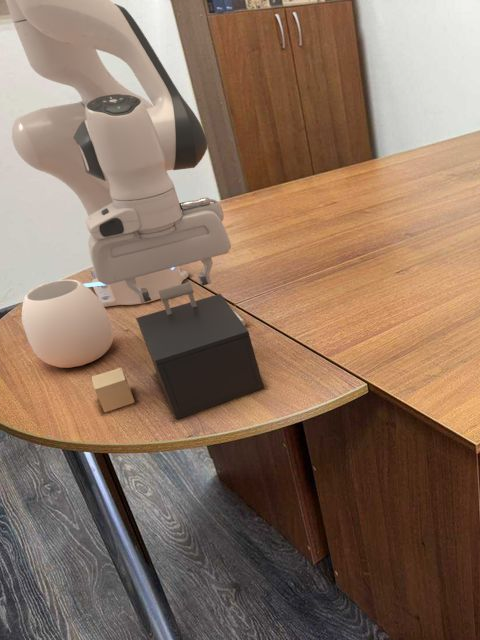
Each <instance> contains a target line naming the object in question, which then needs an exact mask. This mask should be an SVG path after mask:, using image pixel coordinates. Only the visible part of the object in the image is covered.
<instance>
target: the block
mask: <svg viewBox="0 0 480 640" xmlns="http://www.w3.org/2000/svg"><path fill="white" fill-rule="evenodd" d="M91 381H92V385H93V389H94V391H95V394H96V397H97V398H98V399H97V400H98V401H99V403H100V405H101V408H102V410H103V412H104V413H109V412H112V411H114V410H118V409H120V408H123V407H126V406H130V405H132V404H135V402H136V401H135V398H134V396H133V393H132V390H131V388H130V385H129V382H128V380H127V377H126V375H125V373H124V370H123V368H122V367H118V368H115V369H112V370H109V371H108V370H107V371H105V372H101V373H99V374H96V375H92V376H91Z"/></svg>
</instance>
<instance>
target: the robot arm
mask: <svg viewBox="0 0 480 640" xmlns="http://www.w3.org/2000/svg"><path fill="white" fill-rule="evenodd" d="M5 3H6V6H7V9H8V13H9V15H10V18H11V20H12V23H13V26H14V29H15V31H16V33H17V36H18V38H19V40H20V44H21V46H22V49H23V51H24V53H25V56H26V58H27V60H28V63H29V66H30V67H31V68H32V70H33V71H34V72H35V73H36V74H38V75H39V76H41V77H42V78H44V79H46V80H49V81H51V82H55V83H57V84H61V85H65V86H68V87H72V88H73V89H74V90H75V91H77V93H78V94H79V97H80V98H81V101H79V102H73V103H67V104H62V105H61V104H60V105H55V106H50V107H49V106H48V107H44V108H39V109H36V110H34V111H31V112H28V113H26V114H24V115H21V116H19V117H16V119H15V120H14V122H13V124H12V130H11V140H12V144H13V147H14V149H15V151H16V153H17V154H18V156H19V157H20V158H21V160H23V161H24V162H25V163H26V164H27V165H28V166H30V167H32V168H34V169H35V170H38V171H40V172H43V173H45V174H48V175H50V176H52V177H54V178H56V179H58V180H59V181H61V182H62V183H64V184H65V185H66V186H67V187H68V188H70V190H72V191H73V192H74V194H75V195H76V196H77V198H78V199H79V201H80V202H81V204H82V206H83V208H84V210H85V211H86V214H87V217H86V219H85V224H86V228H87V231H88V232H89V235H90V236H89V238H88V244H87V245H88V251H89V256H90V260H91V264H92V267H91V268H89V272H90V274H91V277H92V278H93V279H92V280H91V281H90V282H89V283H88V282H87V283H83V284H84V285H85V286H86V287H88V288H91V287H92V289H93V292H94V294H95V295H96V296H97V297H98V298H99V299H100V301H101V302H102V304H103V306H104V308H106V307H114V306H133V305H134V306H135V305H141V304H147V303H150V302H155V301H157V300H161V298H160V295H159V293H158V291H159V290H163V289H167V288H170V287H174V286H177V285H181V284H183V282H184V281H185V280H186V279H187V278H189V274H188V271H186V270H184V269H180V266H184V265H188V264H191V263H196V262H201V263H202V264H203V266H202V271H201V272H198V273H197V274H196V275H197V278H198V281H199V283H200V285H201V286H202V287H204V286H208V285H211V284H212V281H211V278H210V274H211V270H212V267H213V260H212V258H215V257H218V256H222V255H226V254H228V253H230V250H231V248H232V243H231V241H230V237H229V235H228V233H227V230H226V228H225V226H224V224H223V221H224V215H225V214H224V211H223V208H222V205H221V203H220V202H219V201H217V200H216V199H213V198H212V199H211V198H209V197H202V198H200V199H196V200H188V201H183V202H180V201H179V197H178V195H177V190H176V188H175V184H174V182H173V180H172V179H171V177H170V176H169V174H168V171H179V170H187V169H194V168H196V167H197V165H198V164H199V163H200V162H201V161H202V160H203V157H204V156H205V154H206V152H207V150H208V140H207V137H206V133H205V130H204V128H203V125H202V124H201V121H200V120H199V118H198V117H197V116H196V114H195V112H194V111H193V110H192V108H191V107H190V105H189V104H188V103H187V101H186V100H185V99H184V97H183V96H182V95H181V93H180V92H179V89H178V88H177V87H176V85H175V83H174V81H173V80H172V78H171V76H170V75H169V74H168V72H167V70H166V68H165V66H164V65H163V63H162V61H161V60H160V58H159V57H158V55H157V54H156V52H155V50H154V48H153V47H152V45H151V44H150V42H149V40H148V38H147V37H146V36H145V35H146V34H144V33H143V31H142V28H140V26H139V24H138V23H137V21H136V19H134V17H133V16H132V15H131V13H130V12H129V11H128V10H127V9H126V8H125V7H124V6H122V5H120V4H117V3H115V2H112V1H111V0H5ZM98 51H100V52H103V53H107V54H109V55H113V56H114V57H117V58H118V59H120V60H121V61H123V62H124V63H126V65H127V66H128V67H129V68H130V70H131V71H132V73H133V75H134V76H135V78H136V79H137V81H138V82H139V84H140V86H141V88H142V89H143V91H144V92H145V94H146V97H148V99H149V101H150V102H151V103H150V102H149V101H148V100H147V99H145V98H144V97H142V96H141V95H138V94H136V93H134V92H132V91H131V90H129V89H128V88H126V87H125V86H124V85H122V83H120V82H119V81H118V80H117V79H116V78H115V77H114V76H113V75H112V74H111V73H110V71H109V70H108V69H107V67H106V66H105V64H104V62H103V61H102V60H101V58H100V55H99V54H98Z"/></svg>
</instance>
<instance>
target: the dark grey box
mask: <svg viewBox="0 0 480 640" xmlns="http://www.w3.org/2000/svg"><path fill="white" fill-rule="evenodd" d="M139 330H140V332H141V335H142V338H143V340H144V343H145V346H146V349H147V352H148V354H149V357H150V359H151V362H152V366H153V367H154V370H155V372H156V375H157V378H158V380H159V382H160V384H161V387H162V390H163V392H164V395H165V396H166V399H167V401H168V403H169V405H170V408H171V410H172V413H173V415H174V417H175V420H179V419H182V418H185V417H187V416H190V415H194V414H196V413H199V412H200V411H205V410H206V409H210V408H211V407H215V406H219V405H221V404H224V403H227V402H229V401H232V400H235V399H238V398H241V397H244V396H246V395H249V394H252V393H254V392H258V391H259V390H263V389H264V388H265V387H264V383H263V379H262V376H261V372H260V369H259V365H258V360H257V357H256V353H255V351H254V347H253V343H252V339H251V336H250V335H249V336H245V337H242V338H239V339H236V340H233V341H230V342H227V343H224V344H221V345H217V346H214V347H211V348H208V349H205V350H202V351H199V352H196V353H193V354H189V355H186V356H183V357H180V358H177V359H174V360H171V361H168V362H165V363H161V364H158V365H156V363H155V361H154V359H153V357H152V354H151V352H150V350H149V347H148V345H147V343H146V341H145V338H144V336H143V334H142V331H141V329H140V328H139Z"/></svg>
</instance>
